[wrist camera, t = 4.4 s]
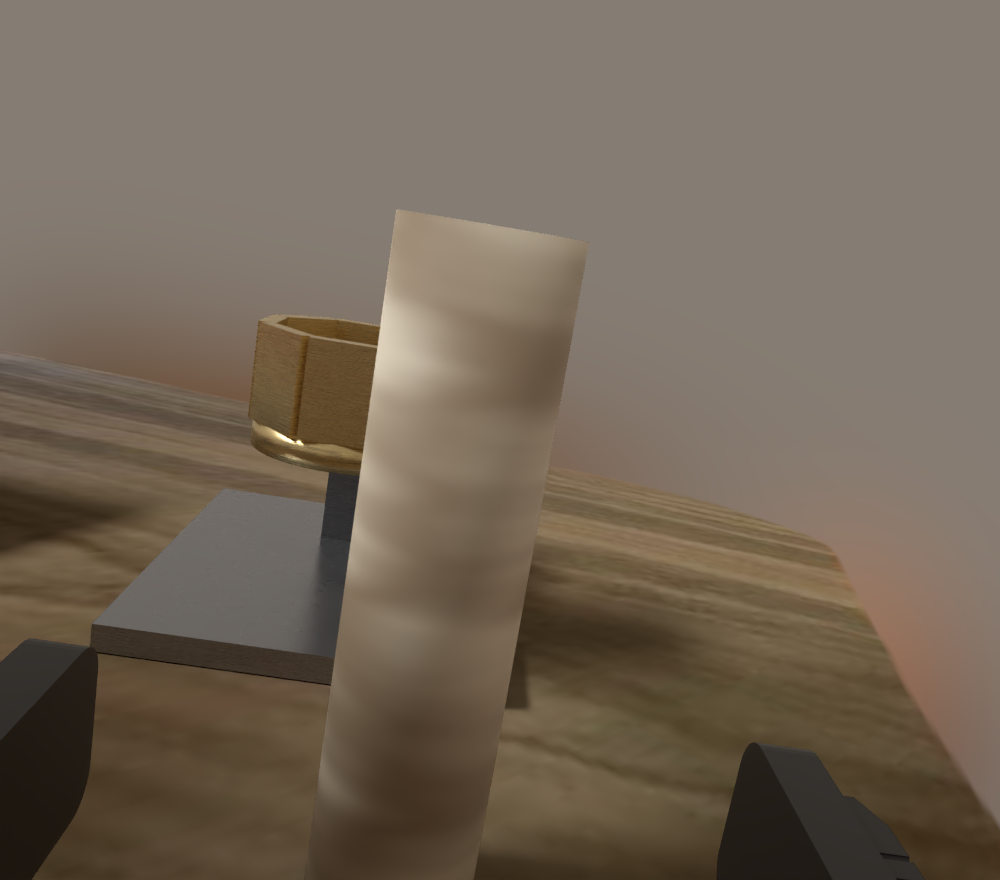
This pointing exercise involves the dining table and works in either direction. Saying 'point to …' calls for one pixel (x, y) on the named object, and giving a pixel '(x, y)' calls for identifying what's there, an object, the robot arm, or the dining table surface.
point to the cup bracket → (266, 524)
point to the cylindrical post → (441, 544)
